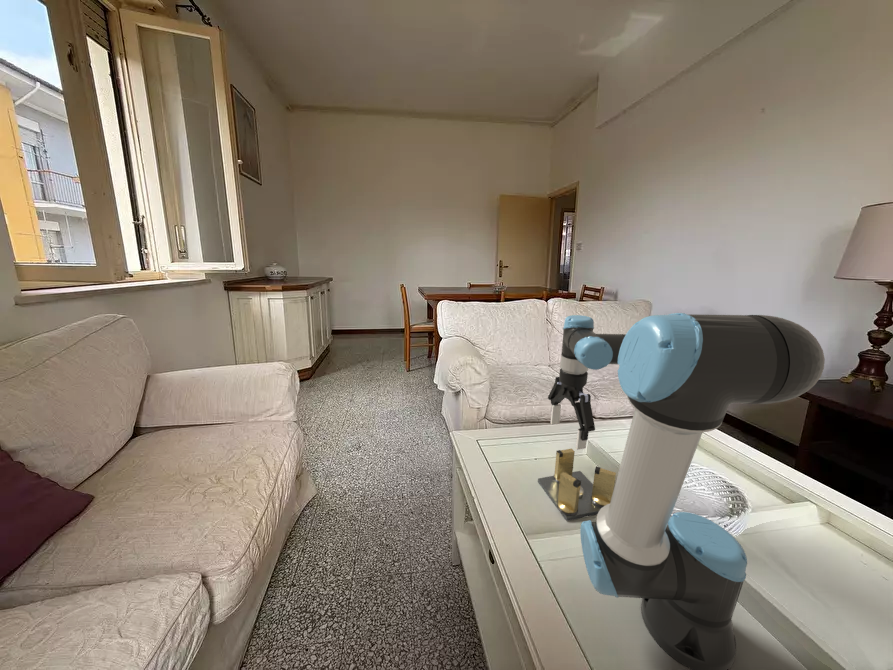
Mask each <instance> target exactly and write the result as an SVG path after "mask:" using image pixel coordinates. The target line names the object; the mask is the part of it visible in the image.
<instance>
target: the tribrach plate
mask: <svg viewBox="0 0 893 670" xmlns="http://www.w3.org/2000/svg"><path fill="white" fill-rule="evenodd" d="M572 477H574V478H575V479H578V480H580V481H581V485H580V494H579V502H578V510H577V511H576V512H575V513H572V514H569V513H565V512H563V511H561V510H560V509H559V507H558V494H559V484H560V482H559V481H557V480H556V479H555V477H554V475H550V476H544V477H540V478H537V483H538V485H539V486H540V487H541V488H542V489H543V491H544V492H545V494H546V495H547V497H548V498H549V499H550V501H551V502H552V503H553V505H554V506H555V508H556V509H557V510H558V512H559V513H560V514H561V516H562V517H563V518H564V520H565V521H566V522H569V521H573V520H578V519H582V518H587V517H591V516H595V515H596V516H597V515H598V512H599V511H600V509H601V508H602V507H604V506H602V505H599V504H597V503H595V502H594V501H593V499H592V489H593V482H592V481H590V479H589V478H588V477H586V476H585V473H583V471H581V470H576V471H573V472H572Z"/></svg>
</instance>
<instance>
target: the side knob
mask: <svg viewBox="0 0 893 670" xmlns="http://www.w3.org/2000/svg"><path fill="white" fill-rule="evenodd" d="M593 474H594V476H593V482H592V484H593V489H592V499H593V501H594V502H595V503H597V504H599V505H602V506H605V505H607V504H610V502H611V498H612V494H613V491H614V487H615V483H616V478H617V476H616V475H617V472H616V471H615V472H614V471H612V470H608V469H605V468H602V467H599V466H595V468H594V473H593Z"/></svg>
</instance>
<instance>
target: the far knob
mask: <svg viewBox="0 0 893 670" xmlns="http://www.w3.org/2000/svg"><path fill="white" fill-rule="evenodd" d="M575 453H576V452H575V451H574V449H573V448H567V449H562V450H561V449H558V450H556V455H555V463H554V464H555V465H554V473H553V476H554V477H555V479H556V480H557V481H559V482H560V474H561V473H563V472H565V473H567V474H569V475H570V476H572V472H574V461H575Z"/></svg>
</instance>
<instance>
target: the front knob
mask: <svg viewBox="0 0 893 670" xmlns="http://www.w3.org/2000/svg"><path fill="white" fill-rule="evenodd" d="M580 485H581V481H580V480H578V479H575V478H574V477H572V476H570V475H569V474H567V473H565V472H563V473H561V474H560V484H559V494H558V507H559V509H560V510H561V511H563V512H565V513H569V514H572V513H575V512H576V511H577V510H578V502H579V494H580Z"/></svg>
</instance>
